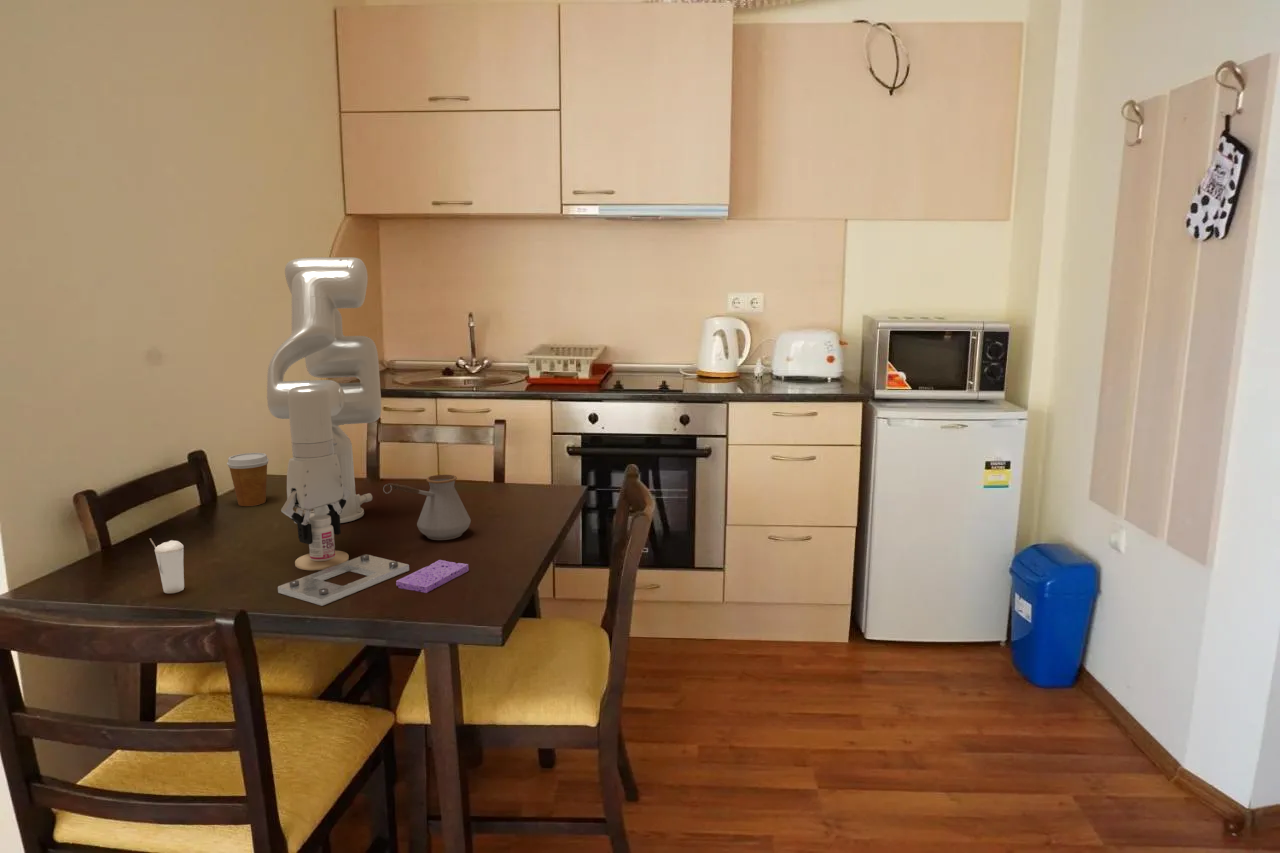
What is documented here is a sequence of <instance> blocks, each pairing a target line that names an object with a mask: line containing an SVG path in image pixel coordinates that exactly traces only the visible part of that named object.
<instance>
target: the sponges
mask: <svg viewBox="0 0 1280 853" xmlns="http://www.w3.org/2000/svg"><path fill="white" fill-rule="evenodd" d="M467 572H469V563H461V562H458V563H456V562H455V561H454V562H453V561H448V560H447V561H446V560H443V559H438V560H436V561H435V562H432V563H431V564H430V565H427V566H425V567H422V568H420V569H418V570H416V571H414V572H412V573H410V574H408V575H405V576H403V577H401V578H399V579H397V580H396V581H395V582H396V583H395V585H396V587H397V588H398V589H402V590H409V591H415V592H420V593H425V594H429V592H431V591H433V590H434V589H437V588H439V587H440V586H443V585H445V584H446V583H448V582H450V581H452V580H454V579H456V578H458V577H460V576H462V575H464V574H466V573H467Z"/></svg>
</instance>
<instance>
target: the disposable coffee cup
mask: <svg viewBox="0 0 1280 853" xmlns="http://www.w3.org/2000/svg"><path fill="white" fill-rule="evenodd" d="M227 460H228V461H227V462H226V465H227V467H228V468H229V471H230V477H231V480H232V484H233V487H234V488H233V489H234V493H235V497H236V499H237V503H238V506H241V507H254V506H259V505H262V504H265V503H266V502H267V501H266V500H267V499H266V498H267V497H266V496H267V480H268V477H267V476H268V463H269V461H270V459H269V458H268V456H267V454H266V453H264V452H263V453H262V452H246V453H239V454H234V455H231V456H229V457H228V458H227Z"/></svg>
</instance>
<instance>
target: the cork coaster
mask: <svg viewBox="0 0 1280 853" xmlns="http://www.w3.org/2000/svg"><path fill="white" fill-rule="evenodd" d="M349 559H350V558H349V553H347V552H345V551H342V550H335V557H334V558H333V559H330V560H327V561H312V560H311V559H310V552H309V553H306V554H304V555H300V556H299V557H298V558H297V559H295V561H294V565H295V568H297V569H298V570H303V571H322V570H324V569H327V568H330V567H333V566H335V565H338V564H341V563H344V562H346V561H349Z"/></svg>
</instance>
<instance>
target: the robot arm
mask: <svg viewBox="0 0 1280 853" xmlns="http://www.w3.org/2000/svg"><path fill="white" fill-rule="evenodd" d="M284 275H285V280H286V284H287V287H288V289H289V292H290V294H291V334H290V336H289V337H288V338H286V339H285V340H284V342H282V343H281V345H279V347H278V348H277V349H276V350H275V352H274V353H273V355H272V357H271V359H270V361H269V364H268V368H267V375H266V376H267V377H266V378H267V379H266V380H267V381H266V384H267V385H266V401H267V407H268V411H269V412H270V414H271V415H272V416H273V417H275V418H277V419H280V420H281V419H282V420H284V419H285V420H288V419H289V428H290V439H291V452H292V457H290V458H289V459H288V463H287V472H286V500H285V502H284V504H283V506H282V507H281V509H280V511H281V513H283V514H284V515H285V516H287V517H288V518H289V519H290V520H292V521H293V523H294V524H296V525H297V536H298V540H299V543H303V544H306V545H309V544H312V542H313V540H312V528H311V524H309V518H310V517H312V516H316V515H329V516H331V524H330V525H332V526H333V529H334V535H336V536H338V535H341V534H342V532H341V527H342V526H341V524H344V523H348V522H352V521H355V520H358V519H361V518H362V517H363V516H364V514H365V510H364V508H363V507H361V505H363V504H365V503H368V502H371V501H372V500H373V495H372V493H370V492H369V493H365V494H362V495H360V493H358V494H356V482H355V481H356V480H355V468H354V456H353V455H354V454H353V445H352V444H353V443H352V441H351V439H350V437H349V436H348V434H347V433H346V432H345V431H344V430H343V429H342V428H341V427H340V426H341V425H342V426H343V425H355V424H371V423H375V422H377V421H378V420H379V419H380V417H381V413H382V394H381V393H382V392H381V378H380V364H379V354H378V353H379V352H378V348H377V346H376V343H375V341H374V340H373V339H372V338H371V337H368V336H366V335H344V332H343V316H342V314H341V312H340V310H339V309H357V308H361V307H362V306H363V304H364V303H365V299H366V294H367V288H368V278H369V277H368V270H367V267H366V264H365V263H364V261H363V260H362V259H361V258H359V257H354V256H353V257H351V256H349V257H348V256H345V257H344V256H343V257H338V256H335V257H332V256H331V257H328V256H327V257H326V256H325V257H323V256H321V257H320V256H318V257H317V256H316V257H315V256H314V257H312V256H311V257H300V258H299V257H298V258H294V259H291V260H289V261H288V262H287V263H286V265H285V267H284ZM302 359H304V360H305V361H304V362H305V367H306V370H307V372H308V374H309V375H310V376H312V377H314V378H319V379H318V380H317V379H316V380H315V379H314V380H310V379H309V380H305V379H304V380H287V381H285V380H284V378H285V374H286V373H287V371H288V370H289V368H290V367H291V366H292V365H293V364H295V363H297V362H299V361H300V360H302ZM320 378H322V379H320ZM323 378H324V379H323ZM333 378H336V379H337V378H356V379H358V380H359V382H344V383H343V382H336V381H335V380H330V379H333ZM294 509H295V510H296V511H295V510H294Z"/></svg>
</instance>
